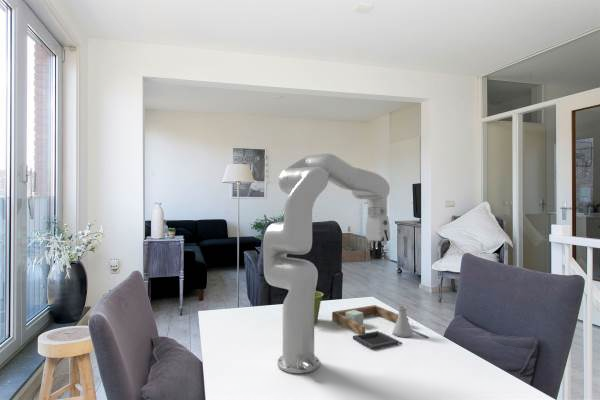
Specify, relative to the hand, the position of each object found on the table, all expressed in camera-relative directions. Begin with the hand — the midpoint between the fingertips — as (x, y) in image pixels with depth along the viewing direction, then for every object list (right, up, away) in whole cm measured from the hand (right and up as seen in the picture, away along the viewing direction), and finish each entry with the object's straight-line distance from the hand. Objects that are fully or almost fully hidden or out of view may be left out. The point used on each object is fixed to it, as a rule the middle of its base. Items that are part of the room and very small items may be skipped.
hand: (376, 258), depth 148 cm
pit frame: (-4, -26, -18) cm, 32 cm away
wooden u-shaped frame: (-3, -26, +1) cm, 26 cm away
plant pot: (-27, -27, +5) cm, 38 cm away
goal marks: (+7, -26, -12) cm, 30 cm away
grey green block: (-9, -26, 0) cm, 28 cm away
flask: (+7, -27, -10) cm, 29 cm away
